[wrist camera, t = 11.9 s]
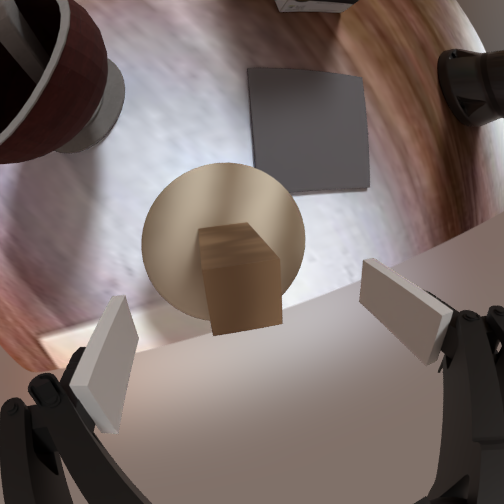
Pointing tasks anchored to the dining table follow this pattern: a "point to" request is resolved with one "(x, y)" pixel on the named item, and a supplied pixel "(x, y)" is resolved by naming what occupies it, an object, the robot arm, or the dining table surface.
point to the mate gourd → (53, 80)
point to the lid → (224, 246)
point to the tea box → (314, 5)
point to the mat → (309, 128)
